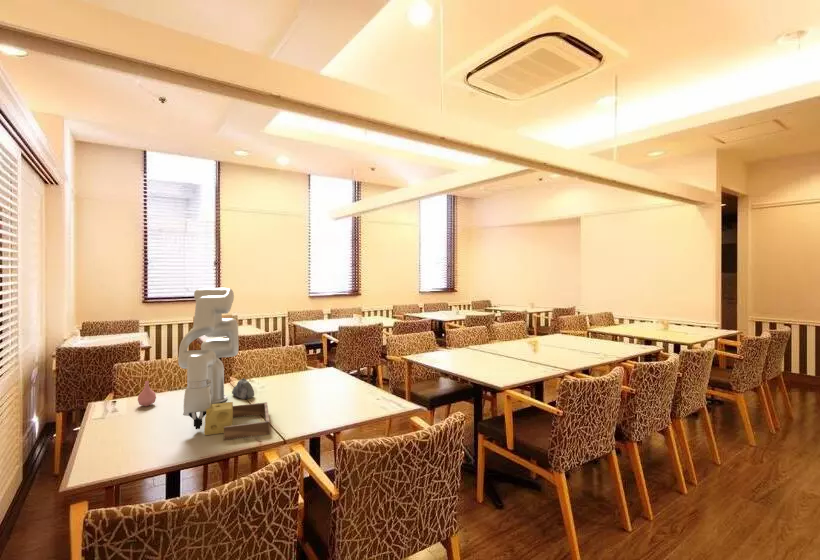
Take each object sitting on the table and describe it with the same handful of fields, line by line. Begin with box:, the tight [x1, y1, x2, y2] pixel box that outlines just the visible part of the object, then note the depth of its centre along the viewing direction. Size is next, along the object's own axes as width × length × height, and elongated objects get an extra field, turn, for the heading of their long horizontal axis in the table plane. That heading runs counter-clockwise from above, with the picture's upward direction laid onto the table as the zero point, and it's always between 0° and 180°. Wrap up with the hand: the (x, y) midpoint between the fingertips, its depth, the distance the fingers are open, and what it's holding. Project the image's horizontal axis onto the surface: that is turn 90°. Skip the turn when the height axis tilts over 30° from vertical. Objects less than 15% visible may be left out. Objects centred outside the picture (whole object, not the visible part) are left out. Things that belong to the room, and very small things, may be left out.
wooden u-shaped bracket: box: [223, 401, 271, 441], centre depth 174 cm, size 26×17×5 cm, turn 22°
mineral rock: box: [231, 377, 255, 400], centre depth 215 cm, size 13×11×10 cm
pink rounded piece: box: [137, 380, 157, 407], centre depth 199 cm, size 8×8×12 cm
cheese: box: [203, 401, 234, 436], centre depth 170 cm, size 10×11×10 cm
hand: (198, 427), depth 167 cm, fingers closed
